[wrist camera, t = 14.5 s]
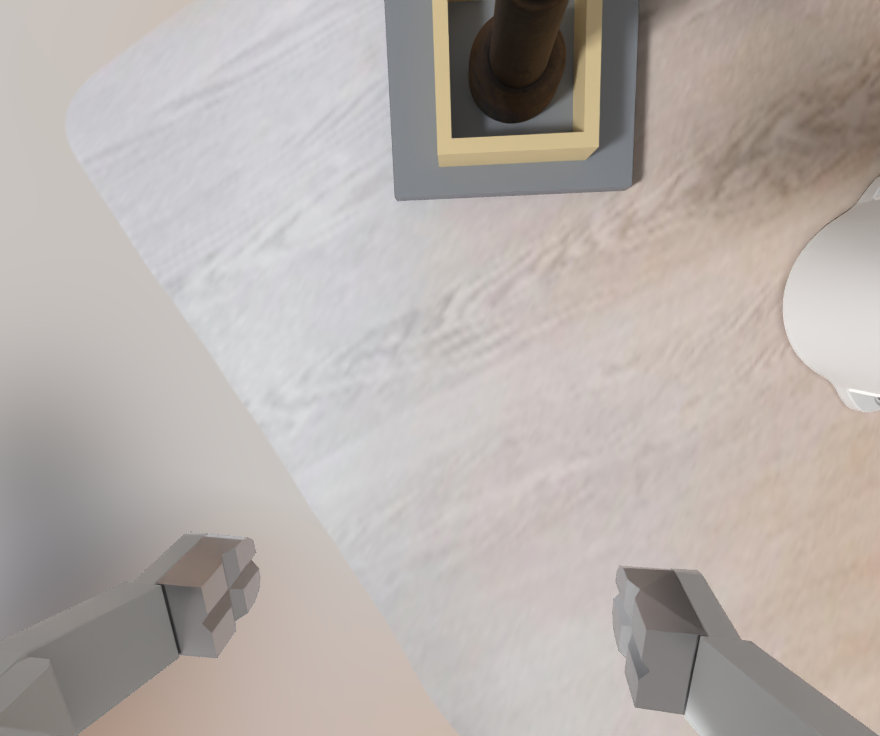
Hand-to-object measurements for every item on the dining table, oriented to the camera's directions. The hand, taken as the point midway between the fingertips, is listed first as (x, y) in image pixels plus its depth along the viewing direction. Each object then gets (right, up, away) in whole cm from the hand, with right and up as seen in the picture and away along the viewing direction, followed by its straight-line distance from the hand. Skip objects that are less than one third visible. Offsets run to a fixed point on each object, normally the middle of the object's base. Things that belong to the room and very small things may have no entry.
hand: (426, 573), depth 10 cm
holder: (+6, +26, +23) cm, 36 cm away
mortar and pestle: (+6, +26, +22) cm, 34 cm away
